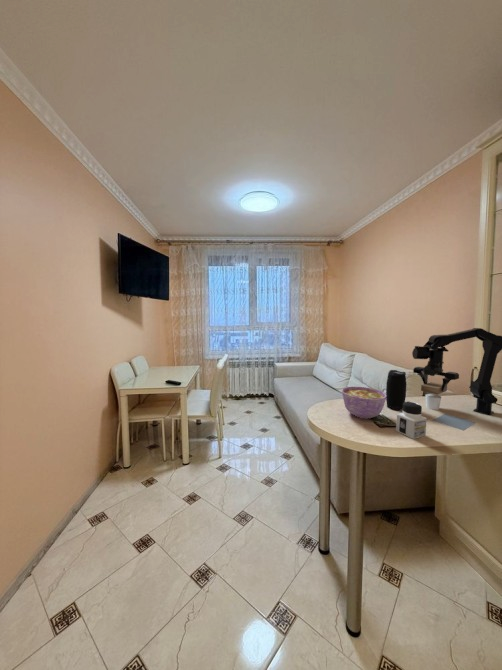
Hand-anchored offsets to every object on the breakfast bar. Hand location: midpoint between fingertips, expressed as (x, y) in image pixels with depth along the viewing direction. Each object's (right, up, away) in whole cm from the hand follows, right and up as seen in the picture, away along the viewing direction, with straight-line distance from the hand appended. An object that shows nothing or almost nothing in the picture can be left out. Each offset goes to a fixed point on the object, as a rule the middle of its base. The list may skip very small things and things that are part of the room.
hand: (434, 388), depth 132 cm
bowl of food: (-41, -11, -9) cm, 44 cm away
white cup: (0, -11, +1) cm, 11 cm away
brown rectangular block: (0, -1, 0) cm, 1 cm away
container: (-30, -13, -27) cm, 42 cm away
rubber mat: (-2, -12, -16) cm, 20 cm away
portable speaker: (-19, -11, +2) cm, 22 cm away
